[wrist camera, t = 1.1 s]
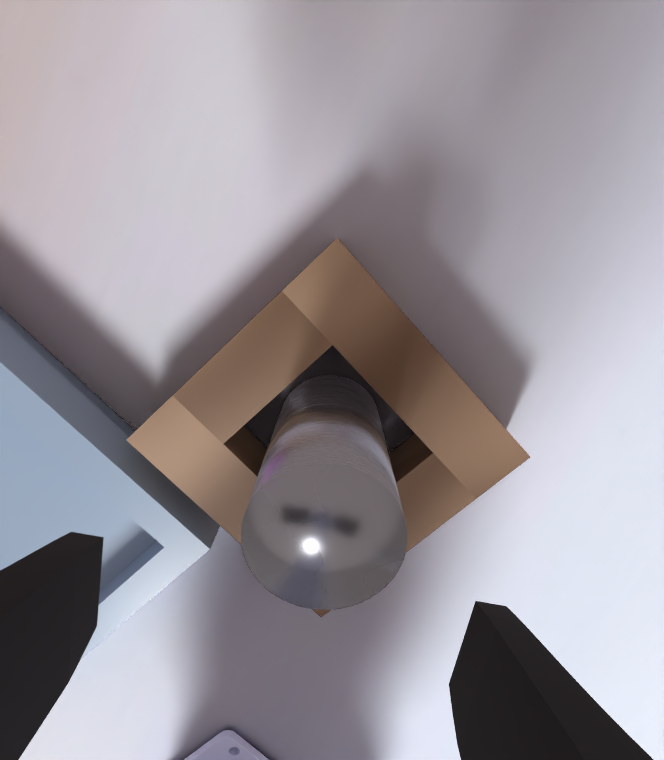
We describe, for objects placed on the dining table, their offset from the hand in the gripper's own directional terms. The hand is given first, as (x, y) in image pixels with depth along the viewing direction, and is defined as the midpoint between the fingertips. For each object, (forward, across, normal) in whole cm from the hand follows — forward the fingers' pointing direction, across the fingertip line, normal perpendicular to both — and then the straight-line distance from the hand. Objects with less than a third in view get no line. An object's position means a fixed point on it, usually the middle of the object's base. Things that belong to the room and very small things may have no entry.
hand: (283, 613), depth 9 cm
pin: (+10, -1, 0) cm, 10 cm away
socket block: (+10, -1, 0) cm, 10 cm away
